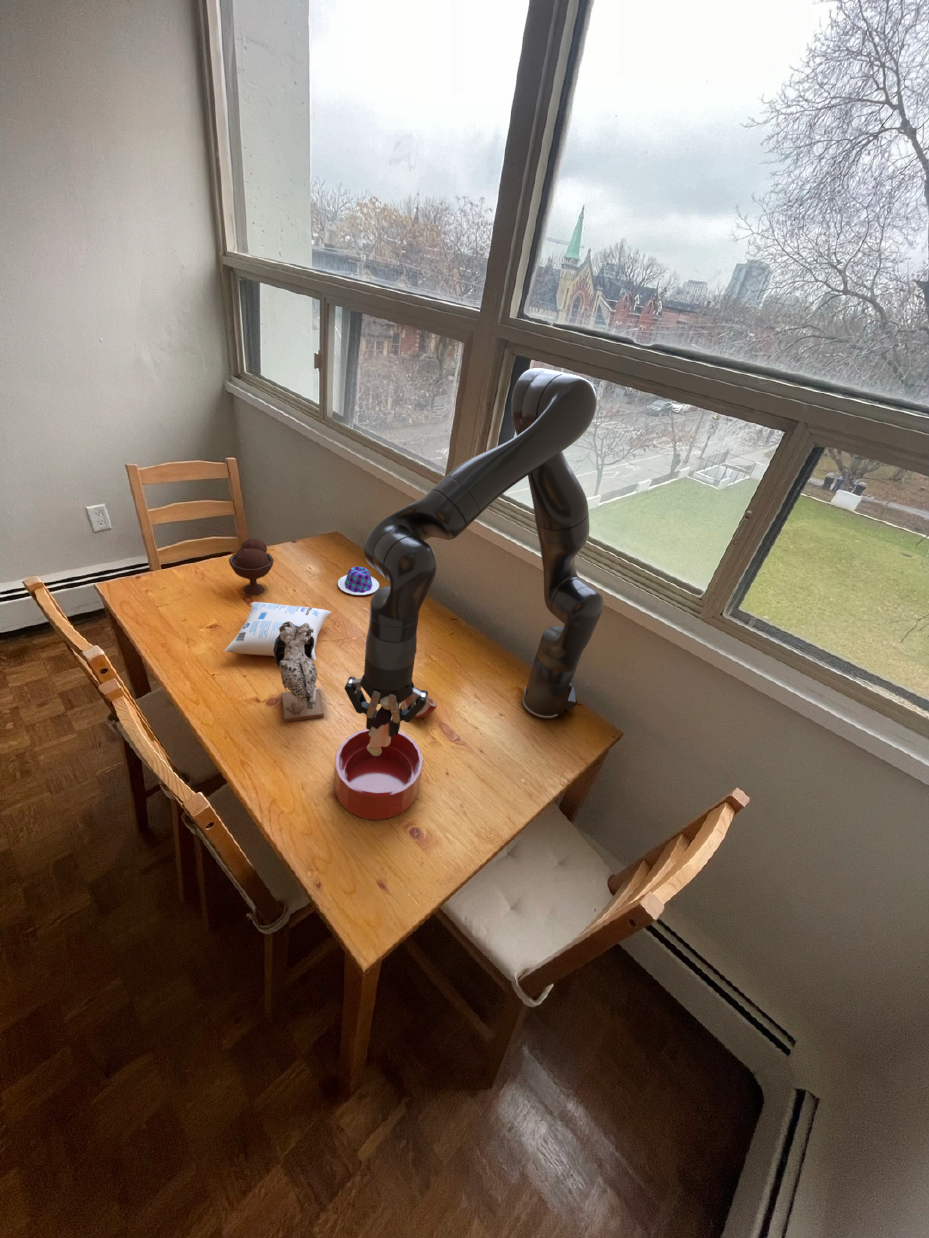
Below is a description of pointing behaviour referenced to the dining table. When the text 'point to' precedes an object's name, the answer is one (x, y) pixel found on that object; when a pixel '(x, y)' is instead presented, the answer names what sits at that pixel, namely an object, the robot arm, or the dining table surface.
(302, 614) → the pouch
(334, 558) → the dining table surface
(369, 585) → the pudding
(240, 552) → the ice cream bowl
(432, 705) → the fruit slice
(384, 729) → the grandmother figurine
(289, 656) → the stuffed bird
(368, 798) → the red bowl
